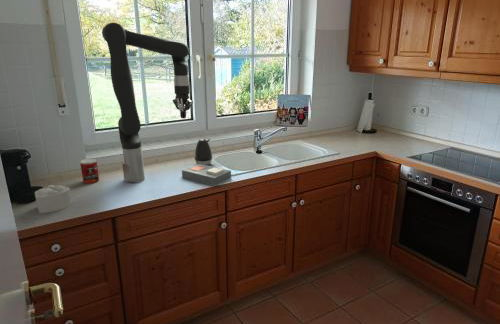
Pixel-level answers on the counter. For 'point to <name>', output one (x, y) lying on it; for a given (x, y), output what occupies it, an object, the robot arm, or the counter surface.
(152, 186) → the counter surface
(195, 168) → the red key
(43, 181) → the counter surface
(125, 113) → the robot arm
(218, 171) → the white key
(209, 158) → the pump dispenser
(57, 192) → the lumpy-topped squat cylinder
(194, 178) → the key console
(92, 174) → the canned food
